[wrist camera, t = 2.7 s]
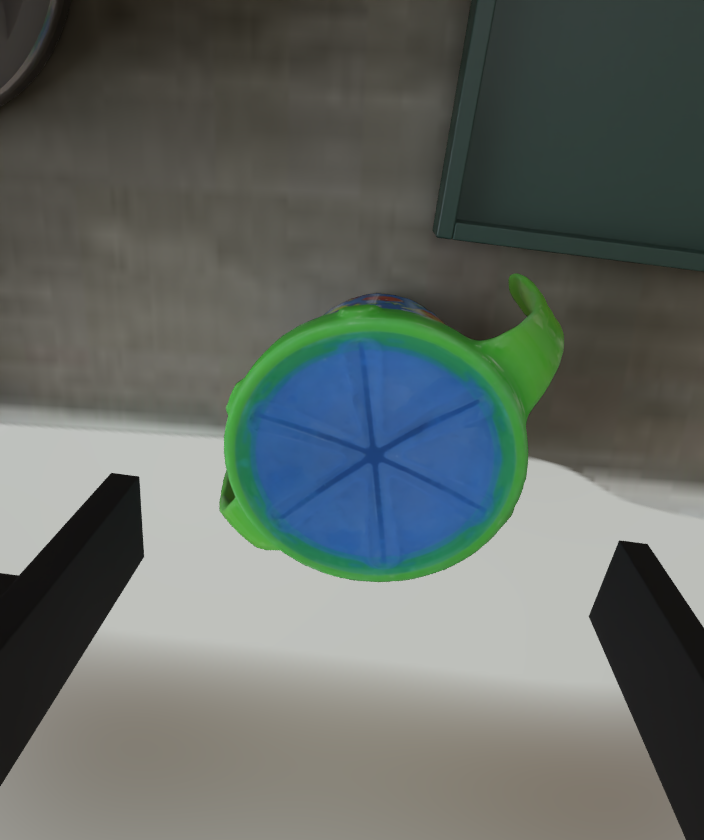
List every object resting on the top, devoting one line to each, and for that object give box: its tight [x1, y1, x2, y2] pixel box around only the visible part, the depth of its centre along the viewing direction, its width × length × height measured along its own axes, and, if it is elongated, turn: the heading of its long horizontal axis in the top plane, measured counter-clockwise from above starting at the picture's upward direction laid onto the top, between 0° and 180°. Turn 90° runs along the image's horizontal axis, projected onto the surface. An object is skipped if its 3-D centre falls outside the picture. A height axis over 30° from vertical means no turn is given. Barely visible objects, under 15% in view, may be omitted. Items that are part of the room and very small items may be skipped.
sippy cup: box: [220, 274, 564, 582], centre depth 23 cm, size 16×10×10 cm
